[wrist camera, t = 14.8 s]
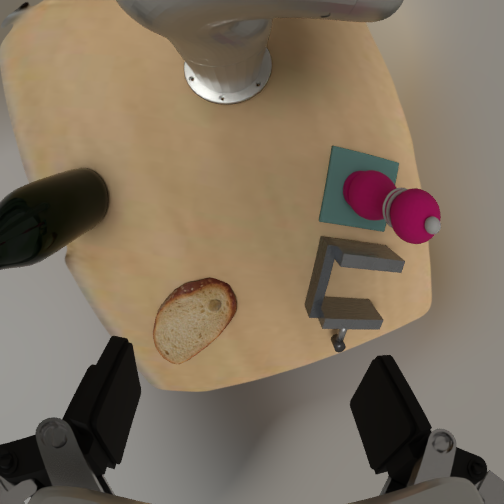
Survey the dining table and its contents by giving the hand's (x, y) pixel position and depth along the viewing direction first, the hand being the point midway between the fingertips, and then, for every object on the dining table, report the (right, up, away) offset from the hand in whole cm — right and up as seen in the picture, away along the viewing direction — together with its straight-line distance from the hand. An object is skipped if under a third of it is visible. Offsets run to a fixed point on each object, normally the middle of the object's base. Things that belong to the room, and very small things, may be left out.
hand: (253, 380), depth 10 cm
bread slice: (-11, -8, +41) cm, 43 cm away
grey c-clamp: (+16, -2, +39) cm, 42 cm away
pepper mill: (+17, +15, +31) cm, 39 cm away
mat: (+17, +15, +32) cm, 39 cm away
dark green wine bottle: (-28, +14, +31) cm, 44 cm away
